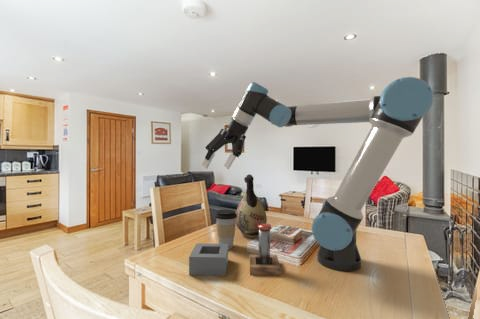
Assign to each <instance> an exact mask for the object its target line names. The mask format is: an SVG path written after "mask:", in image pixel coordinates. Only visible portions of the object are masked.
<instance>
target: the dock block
mask: <svg viewBox="0 0 480 319" xmlns="http://www.w3.org/2000/svg"><path fill="white" fill-rule="evenodd" d="M228 266H229V249H228V244H219V243H205V242H204V243H203V242H202V243H199V242H198V243H197V242H196V244H195V245H194V247H193V248H192V251H191V252H190V255H189V257H188V275H189V276H223V277H225V276H226V275H227V270H228Z"/></svg>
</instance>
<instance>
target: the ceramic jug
mask: <svg viewBox="0 0 480 319" xmlns="http://www.w3.org/2000/svg"><path fill="white" fill-rule="evenodd" d="M243 181H244V183H246V191H245V194H244V195H243V197H241V198H242V199H241V200H240V202H239V204H238V206H237V207H236V211H235V213H236V214H237V217H236V226H235V227H236V228H238V230H239V231H240V232H241V234H242V236H243V237H246V238H257V237H259V229H258V224H263V223H265V224H267V221H268V220H267V213H266V210H265V208H264V205H263V203H262V202H261V200H260V199H259V197H258V196H257V195H256V193H255V190H254V186H255V185H254V176H253V175H252V174H250V173H249V174H247V175H246V176H245V177H244V180H243Z"/></svg>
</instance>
